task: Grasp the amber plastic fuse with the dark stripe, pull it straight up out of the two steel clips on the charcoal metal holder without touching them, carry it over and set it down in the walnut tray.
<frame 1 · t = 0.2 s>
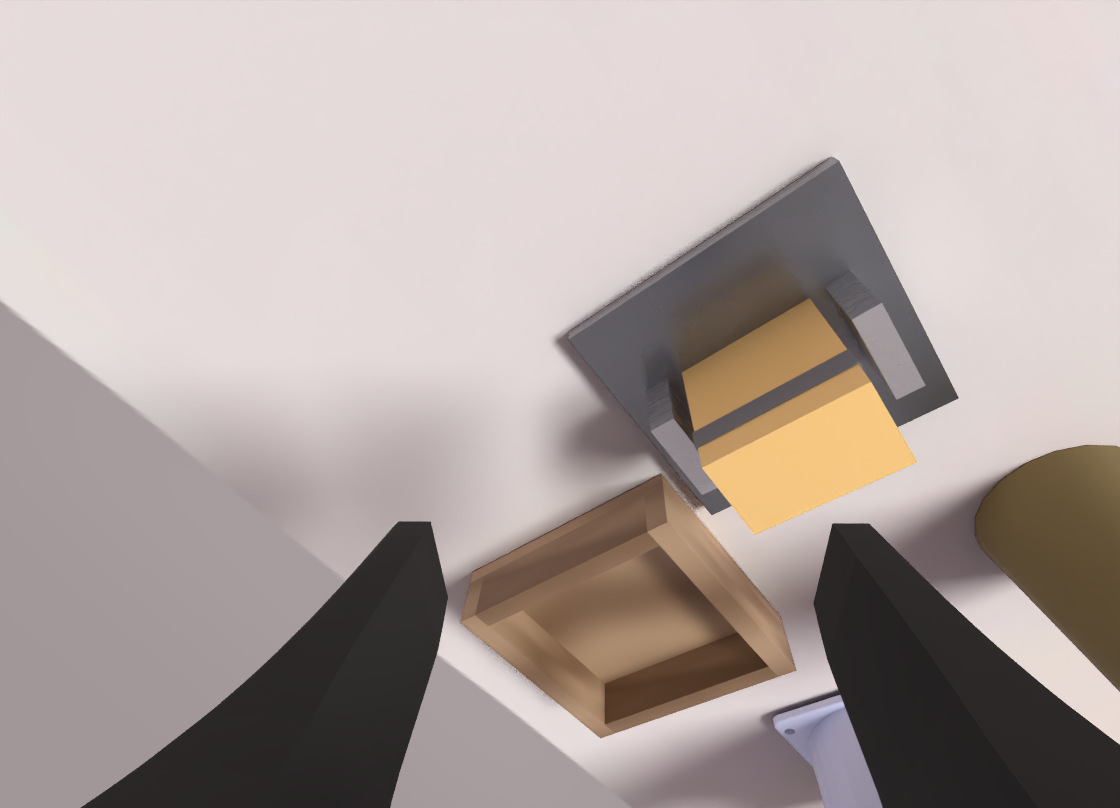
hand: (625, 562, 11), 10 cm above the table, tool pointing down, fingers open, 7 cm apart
fuse: (764, 369, 19), point 1 cm above the table, touching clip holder
cork: (1060, 507, 23), on the table
tray: (627, 594, 26), on the table
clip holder: (760, 360, 20), on the table
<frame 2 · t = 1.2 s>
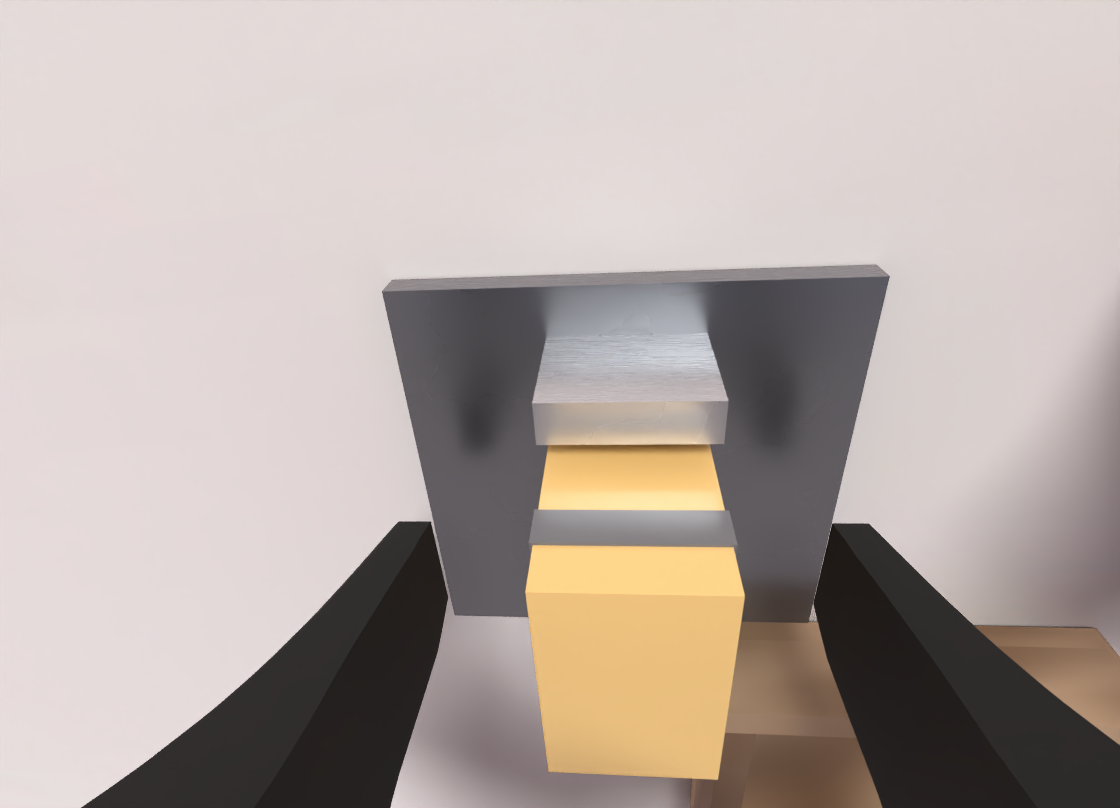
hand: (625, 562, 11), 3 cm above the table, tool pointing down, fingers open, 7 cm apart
fuse: (626, 481, 13), point 1 cm above the table, touching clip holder
tray: (860, 729, 18), on the table
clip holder: (625, 464, 14), on the table
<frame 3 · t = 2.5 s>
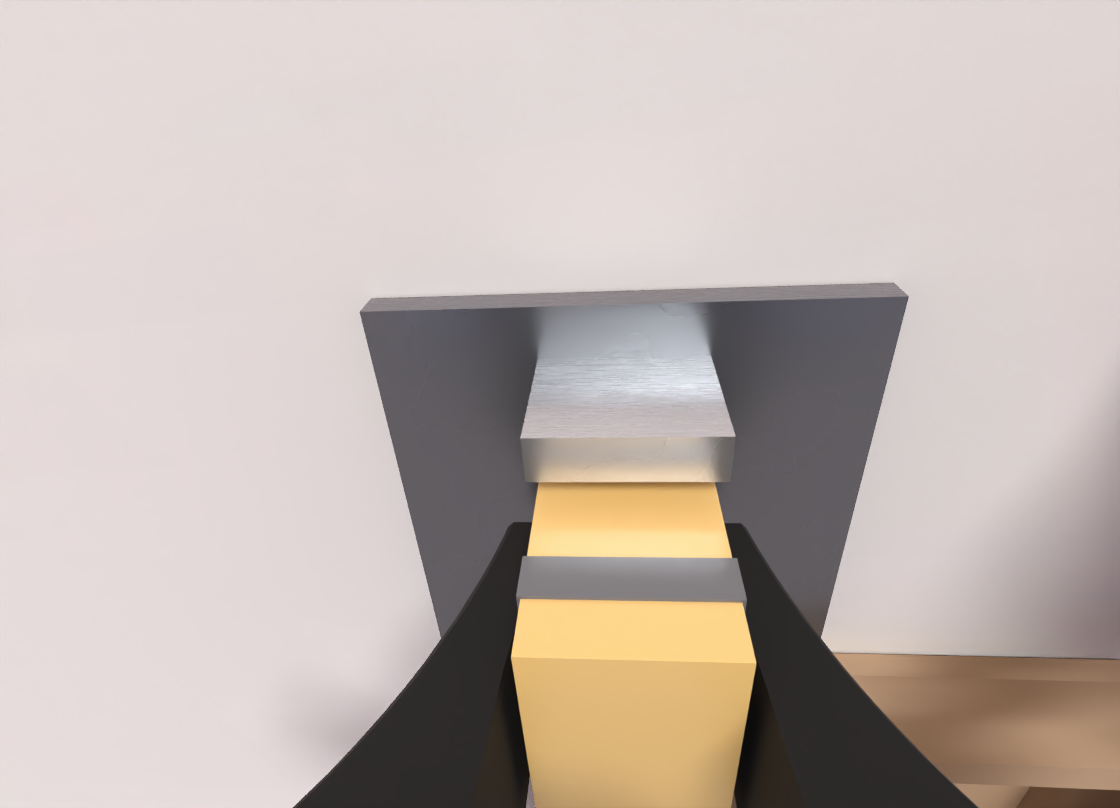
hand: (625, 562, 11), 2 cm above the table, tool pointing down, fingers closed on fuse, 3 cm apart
fuse: (623, 510, 12), point 1 cm above the table, touching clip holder, gripper
tray: (868, 760, 17), on the table
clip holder: (623, 491, 13), on the table
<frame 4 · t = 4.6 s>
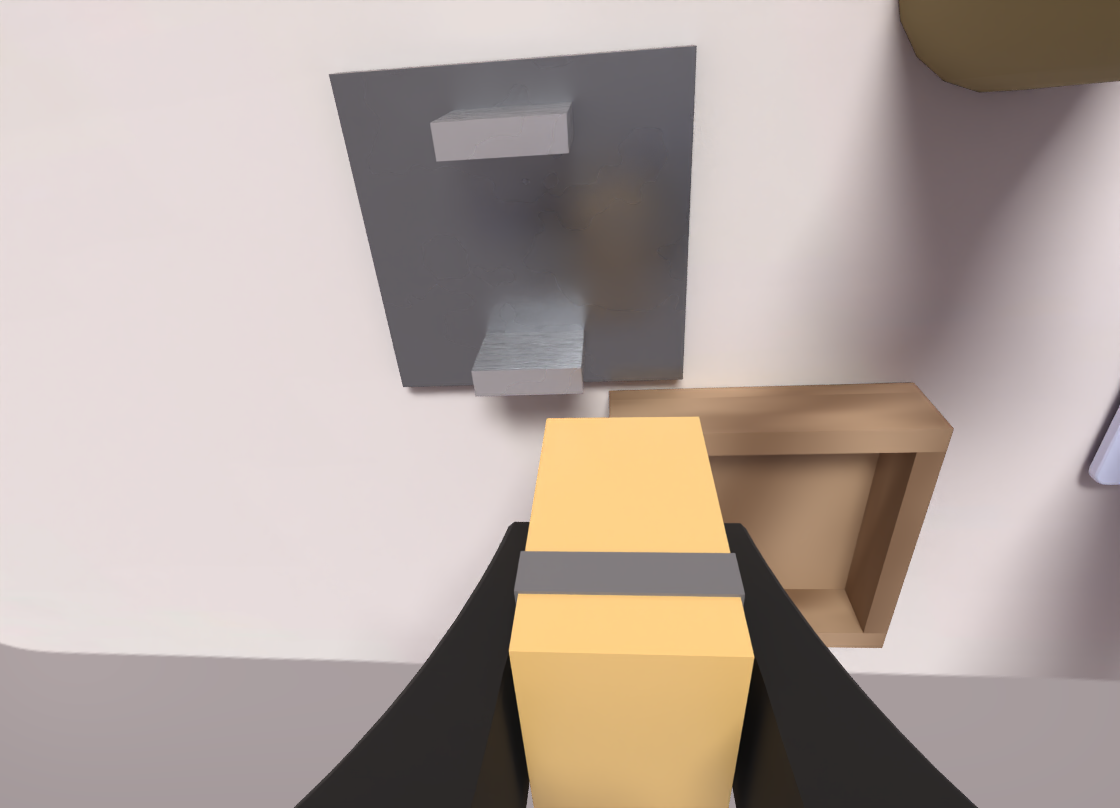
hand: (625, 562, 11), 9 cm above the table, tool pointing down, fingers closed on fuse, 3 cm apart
fuse: (622, 508, 12), point 8 cm above the table, touching gripper
tray: (744, 500, 22), on the table
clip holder: (528, 237, 17), on the table
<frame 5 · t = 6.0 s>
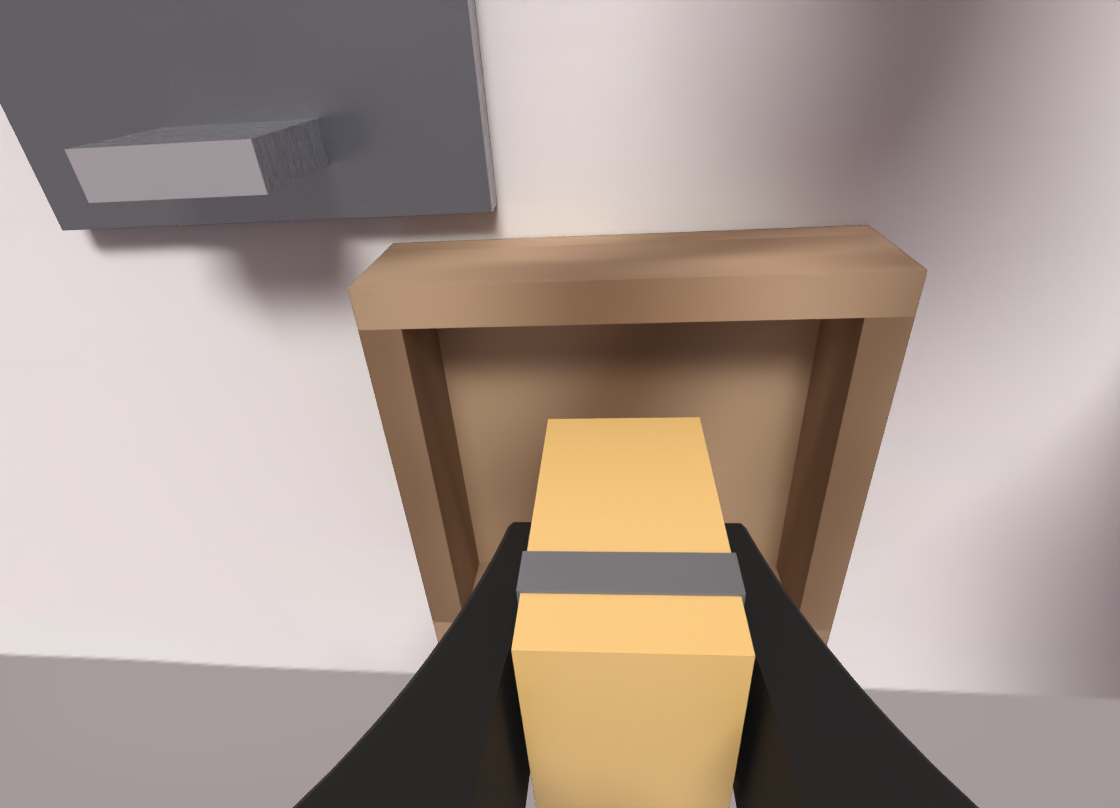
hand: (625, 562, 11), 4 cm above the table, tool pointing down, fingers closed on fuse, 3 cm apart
fuse: (623, 508, 12), point 3 cm above the table, touching gripper
tray: (623, 429, 15), on the table
when the fingers open (4 cm above the table, at t = 6.9 s): fuse drops 2 cm, resting on tray.
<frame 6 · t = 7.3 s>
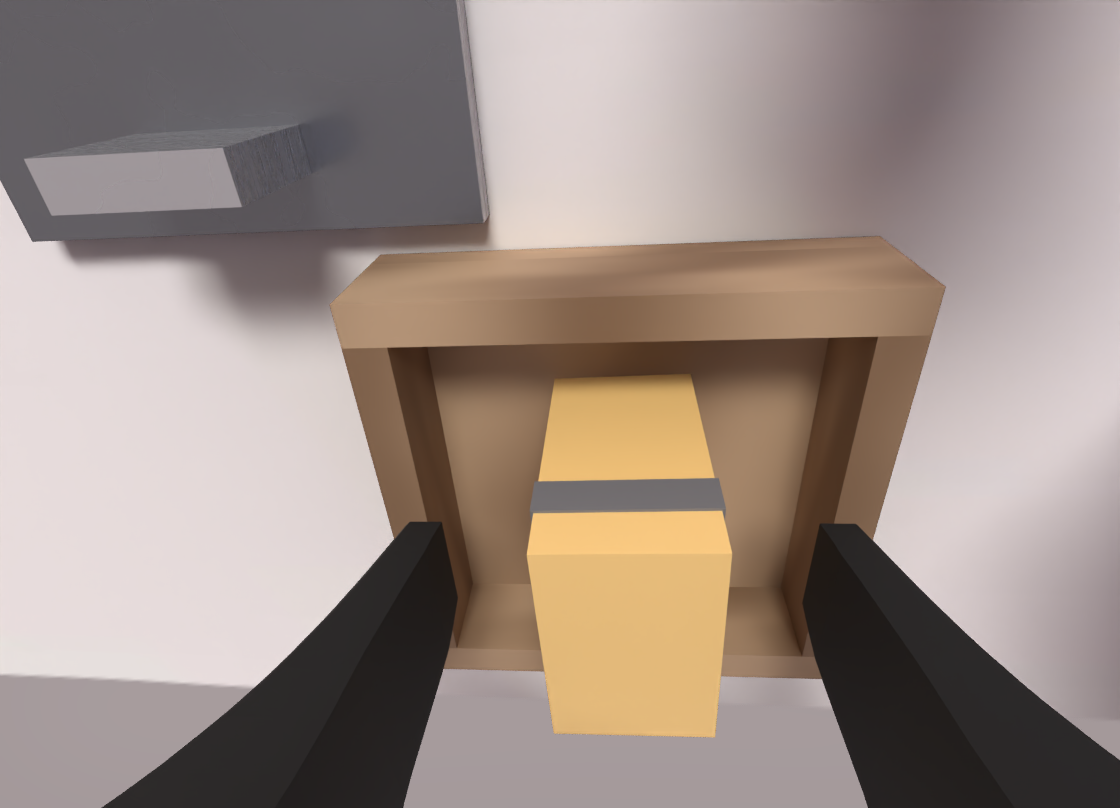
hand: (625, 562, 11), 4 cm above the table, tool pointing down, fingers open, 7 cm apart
fuse: (624, 461, 14), point 1 cm above the table, touching tray
tray: (622, 447, 14), on the table
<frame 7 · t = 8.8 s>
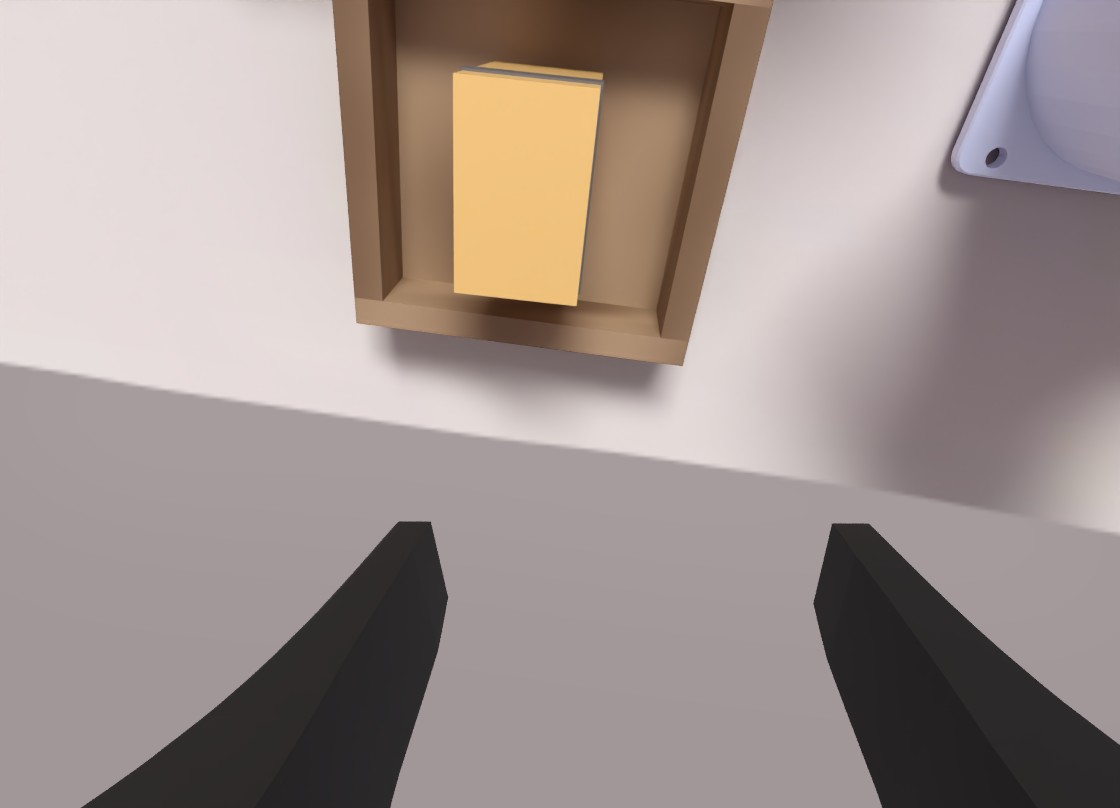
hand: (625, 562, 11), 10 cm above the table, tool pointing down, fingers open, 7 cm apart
fuse: (543, 157, 17), point 1 cm above the table, touching tray
tray: (543, 154, 17), on the table
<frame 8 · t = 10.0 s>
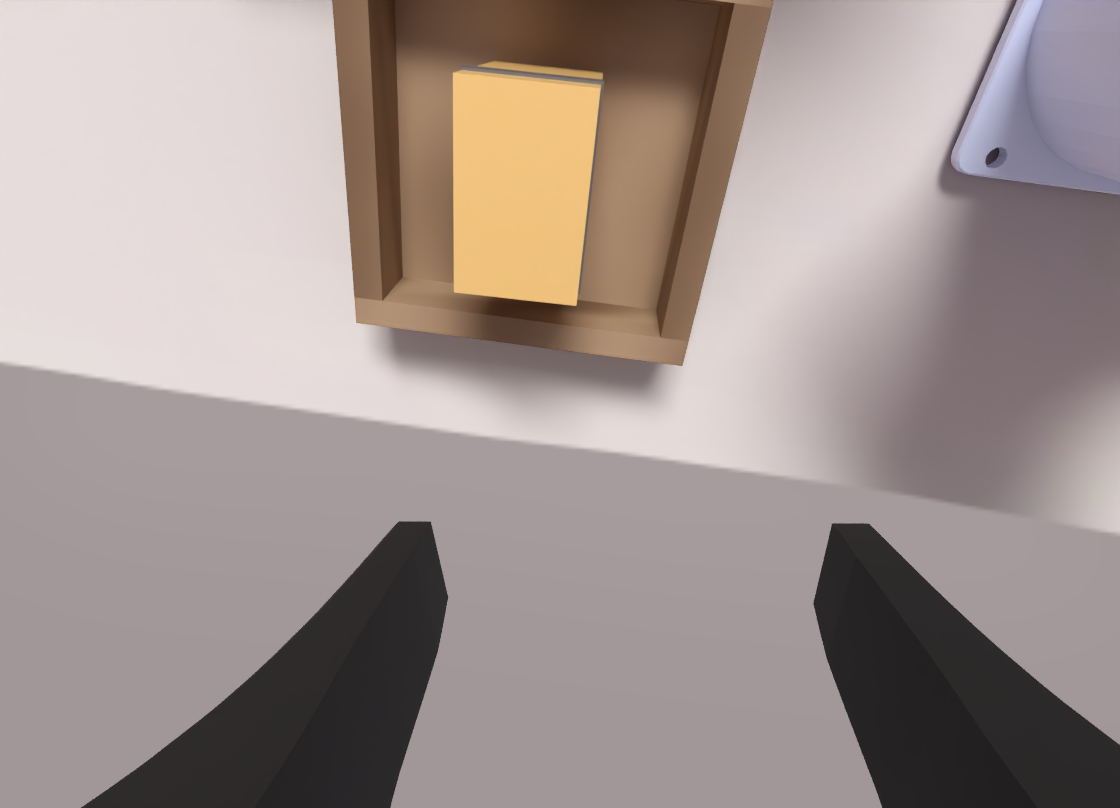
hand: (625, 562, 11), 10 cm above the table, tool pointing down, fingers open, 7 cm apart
fuse: (543, 156, 17), point 1 cm above the table, touching tray
tray: (543, 154, 17), on the table
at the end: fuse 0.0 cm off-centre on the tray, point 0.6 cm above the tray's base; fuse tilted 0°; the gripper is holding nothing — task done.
